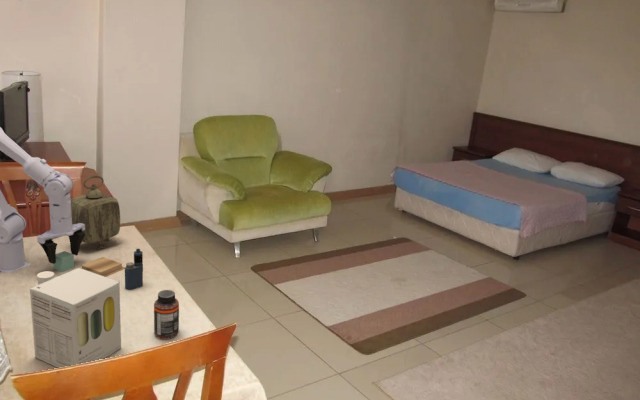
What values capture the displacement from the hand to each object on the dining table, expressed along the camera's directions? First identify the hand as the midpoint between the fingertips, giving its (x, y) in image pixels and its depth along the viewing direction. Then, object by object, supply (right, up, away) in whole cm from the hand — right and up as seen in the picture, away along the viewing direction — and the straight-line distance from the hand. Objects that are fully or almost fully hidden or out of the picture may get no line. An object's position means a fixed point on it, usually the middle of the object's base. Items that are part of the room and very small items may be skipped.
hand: (63, 258), depth 159 cm
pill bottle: (+6, -11, -20) cm, 24 cm away
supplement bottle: (+39, -16, -26) cm, 50 cm away
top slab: (+11, -3, +2) cm, 11 cm away
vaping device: (+23, -8, -6) cm, 26 cm away
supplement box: (+22, -18, -37) cm, 47 cm away
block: (0, -4, +1) cm, 4 cm away
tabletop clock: (+2, +1, +18) cm, 18 cm away
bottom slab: (+10, -5, +3) cm, 12 cm away
